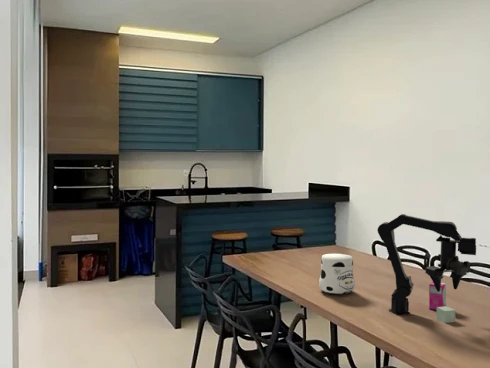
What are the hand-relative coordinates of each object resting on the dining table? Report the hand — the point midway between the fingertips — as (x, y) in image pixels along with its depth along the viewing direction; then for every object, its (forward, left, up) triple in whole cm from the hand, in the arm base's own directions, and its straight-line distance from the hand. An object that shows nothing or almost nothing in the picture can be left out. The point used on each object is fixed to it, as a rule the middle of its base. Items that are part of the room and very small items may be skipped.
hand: (446, 290), depth 190 cm
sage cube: (-1, -1, -12) cm, 12 cm away
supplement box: (+6, +12, -12) cm, 18 cm away
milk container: (-24, +48, -12) cm, 55 cm away
